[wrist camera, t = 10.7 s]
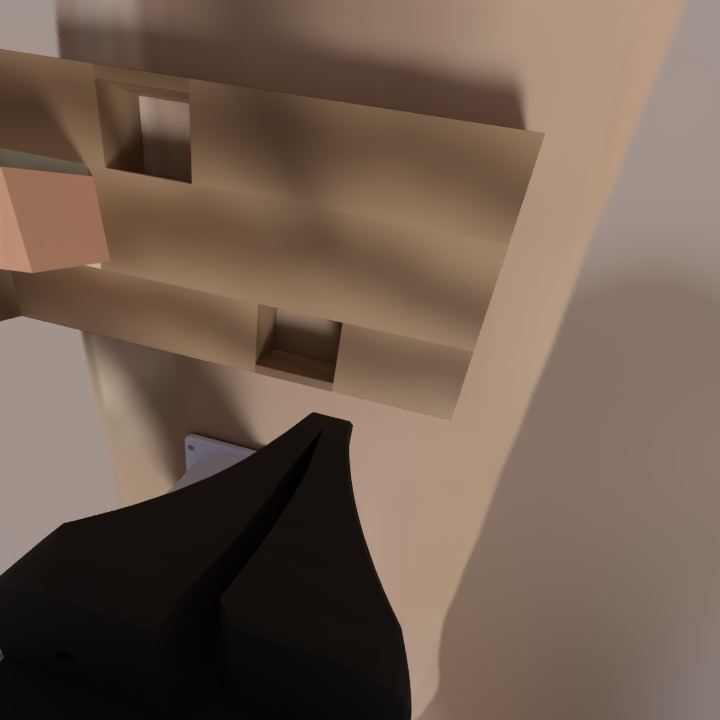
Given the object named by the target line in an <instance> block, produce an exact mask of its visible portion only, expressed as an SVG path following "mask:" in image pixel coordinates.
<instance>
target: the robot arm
mask: <svg viewBox="0 0 720 720" xmlns="http://www.w3.org/2000/svg"><path fill="white" fill-rule="evenodd" d="M352 428H353V425H352V423H351V422H350V421H346V420H342V419H338V418H334V417H330V416H326V415H322V414H319V413H315V412H313V413H311V414H309V415H308V416H307V417H305V418H304V419H303V420H301V421H300V422H299V423H298V424H296V425H295V426H294V427H292V428H291V429H289V430H288V431H287V432H285V433H284V434H282V435H281V436H279V437H278V438H277V439H275V440H274V441H272V442H271V443H269V444H268V445H266V446H265V447H263V448H261V449H260V450H258V451H255V450H251V449H248V448H244V447H240V446H236V445H233V444H229V443H225V442H222V441H218V440H214V439H210V438H207V437H203V436H199V435H196V434H189V435H188V436H187V437H186V438H185V456H186V473H185V474H184V475H183V476H182V478H181V479H180V480H179V481H178V482H177V483H176V484H175V485H174V486H173V487H172V488H171V489H170V490H169V491H168V492H167V493H166V494H165V495H162V496H159V497H156V498H153V499H150V500H147V501H144V502H141V503H138V504H135V505H132V506H128V507H125V508H121V509H118V510H114V511H110V512H106V513H103V514H99V515H95V516H91V517H87V518H83V519H79V520H76V521H71V522H67V523H63V524H62V525H61V526H59V527H58V528H57V529H56V530H54V531H53V532H52V533H51V534H50V535H48V536H47V537H46V538H44V539H43V540H42V541H41V542H40V543H38V544H37V545H36V546H35V547H34V548H32V549H31V550H30V551H29V552H28V553H27V554H25V555H24V556H23V557H22V558H21V559H19V560H18V561H17V562H16V563H15V564H14V565H12V566H11V567H10V568H9V569H8V570H6V571H5V572H4V573H3V574H2V575H1V576H0V720H411V711H412V708H411V688H410V678H409V670H408V663H407V657H406V651H405V645H404V640H403V634H402V629H401V626H400V624H399V622H398V620H397V618H396V616H395V613H394V611H393V609H392V607H391V605H390V603H389V600H388V598H387V596H386V594H385V592H384V589H383V587H382V584H381V582H380V579H379V577H378V574H377V572H376V570H375V567H374V564H373V561H372V558H371V555H370V552H369V550H368V547H367V544H366V541H365V538H364V535H363V531H362V528H361V524H360V520H359V517H358V512H357V508H356V504H355V499H354V493H353V487H352V481H351V472H350V459H349V444H350V438H351V433H352Z"/></svg>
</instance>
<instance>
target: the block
mask: <svg viewBox="0 0 720 720" xmlns="http://www.w3.org/2000/svg"><path fill="white" fill-rule="evenodd" d="M109 261H110V256H109V252H108V247H107V242H106V237H105V232H104V227H103V223H102V218H101V213H100V208H99V203H98V198H97V194H96V189H95V184H94V179H93V176H84V175H74V174H65V173H56V172H46V171H37V170H27V169H18V168H9V167H0V269H4V270H13V271H21V272H29V273H36V272H42V271H49V270H56V269H62V268H69V267H76V266H82V265H89V264H95V263H102V262H109Z"/></svg>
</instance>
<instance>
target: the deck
mask: <svg viewBox="0 0 720 720" xmlns="http://www.w3.org/2000/svg"><path fill="white" fill-rule="evenodd" d="M138 95H140V96H146V97H152V98H158V99H165V100H171V101H177V102H183V103H189V104H190V136H191V169H192V182H188V181H183V180H178V179H172V178H167V177H162V176H156V175H151V174H146V173H144V164H143V151H142V139H141V126H140V114H139V101H138ZM544 135H545V133H540V132H533V131H527V130H520V129H514V128H507V127H501V126H495V125H488V124H482V123H475V122H469V121H462V120H456V119H449V118H443V117H436V116H430V115H423V114H417V113H410V112H404V111H397V110H391V109H384V108H378V107H372V106H365V105H359V104H352V103H346V102H339V101H333V100H326V99H320V98H313V97H307V96H300V95H294V94H287V93H281V92H274V91H268V90H261V89H255V88H249V87H242V86H236V85H229V84H223V83H216V82H210V81H203V80H197V79H190V78H184V77H177V76H171V75H164V74H158V73H151V72H145V71H138V70H132V69H126V68H119V67H113V66H106V65H100V64H93V63H87V62H80V61H74V60H67V59H61V58H54V57H48V56H41V55H34V54H28V53H22V52H15V51H8V50H3V49H0V167H9V168H18V169H27V170H37V171H46V172H56V173H65V174H74V175H84V176H93V179H94V184H95V189H96V194H97V198H98V203H99V208H100V213H101V218H102V223H103V227H104V232H105V237H106V242H107V247H108V252H109V256H110V261H109V262H102V263H95V264H89V265H82V266H76V267H69V268H62V269H56V270H49V271H42V272H36V273H29V272H21V271H13V270H4V269H0V321H2V320H7V319H11V318H15V317H18V316H25V317H29V318H34V319H38V320H41V321H45V322H50V323H54V324H58V325H62V326H66V327H70V328H74V329H78V330H82V331H86V332H90V333H94V334H99V335H103V336H107V337H111V338H115V339H119V340H123V341H127V342H131V343H135V344H139V345H144V346H148V347H152V348H156V349H160V350H164V351H168V352H172V353H176V354H180V355H184V356H189V357H193V358H197V359H201V360H205V361H209V362H213V363H217V364H221V365H225V366H229V367H234V368H238V369H242V370H246V371H250V372H254V373H258V374H262V375H266V376H270V377H275V378H279V379H283V380H287V381H291V382H295V383H299V384H303V385H307V386H311V387H315V388H320V389H324V390H328V391H332V392H336V393H340V394H344V395H348V396H352V397H356V398H360V399H365V400H369V401H373V402H377V403H381V404H385V405H389V406H393V407H397V408H401V409H405V410H410V411H414V412H418V413H422V414H426V415H430V416H434V417H438V418H442V419H446V420H451V418H452V415H453V412H454V409H455V406H456V403H457V400H458V397H459V394H460V391H461V388H462V385H463V382H464V379H465V376H466V373H467V370H468V366H469V363H470V360H471V357H472V354H473V351H474V348H475V345H476V342H477V339H478V336H479V333H480V330H481V327H482V324H483V321H484V318H485V315H486V312H487V309H488V306H489V303H490V300H491V296H492V293H493V290H494V287H495V284H496V281H497V278H498V275H499V272H500V269H501V266H502V263H503V260H504V257H505V254H506V251H507V248H508V245H509V242H510V239H511V236H512V233H513V230H514V227H515V223H516V220H517V217H518V214H519V211H520V208H521V205H522V202H523V199H524V196H525V193H526V190H527V187H528V184H529V181H530V178H531V175H532V172H533V169H534V166H535V163H536V160H537V157H538V153H539V150H540V147H541V144H542V141H543V138H544ZM276 308H279V309H284V310H288V311H293V312H297V313H302V314H306V315H311V316H315V317H320V318H324V319H329V320H333V321H338V322H342V323H343V324H342V330H341V337H340V344H339V350H338V357H337V363H332V362H328V361H323V360H319V359H315V358H311V357H306V356H302V355H298V354H294V353H289V352H285V351H281V350H277V349H274V337H275V322H276Z"/></svg>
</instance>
